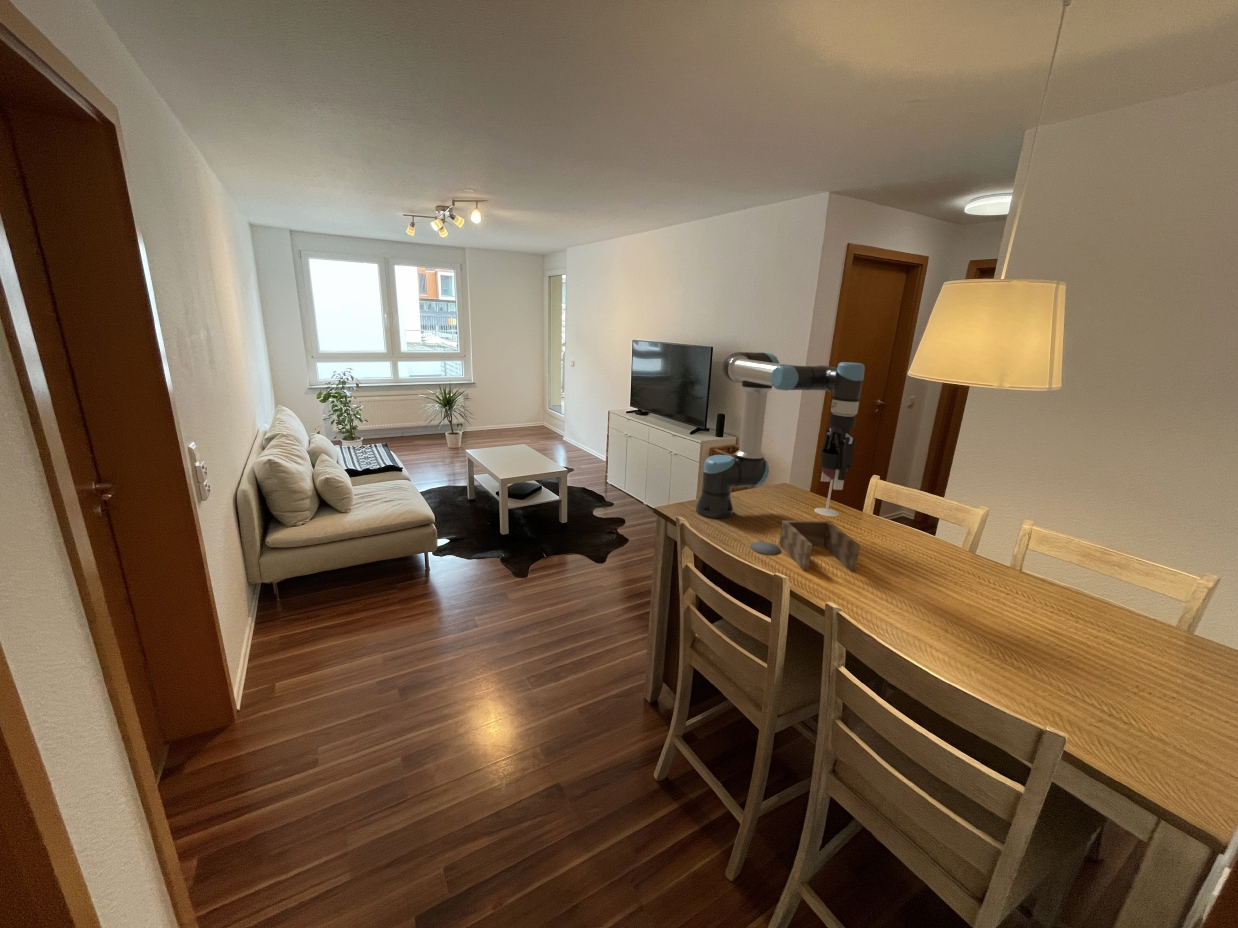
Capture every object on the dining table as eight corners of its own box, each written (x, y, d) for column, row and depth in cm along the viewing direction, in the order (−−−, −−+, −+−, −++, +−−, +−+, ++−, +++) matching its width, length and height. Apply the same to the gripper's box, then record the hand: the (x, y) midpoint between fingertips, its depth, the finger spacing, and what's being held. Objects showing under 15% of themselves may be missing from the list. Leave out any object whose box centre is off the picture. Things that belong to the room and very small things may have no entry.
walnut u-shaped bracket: (779, 544, 176) (782, 520, 173) (825, 544, 177) (829, 521, 175) (803, 570, 156) (807, 544, 154) (855, 571, 158) (860, 545, 155)
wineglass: (845, 517, 156) (856, 456, 150) (817, 515, 156) (827, 454, 150) (835, 508, 163) (845, 449, 158) (808, 506, 164) (818, 448, 158)
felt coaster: (746, 542, 176) (746, 541, 176) (774, 542, 177) (774, 541, 176) (756, 554, 166) (756, 553, 166) (785, 555, 167) (785, 554, 167)
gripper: (816, 408, 160) (805, 475, 167) (848, 419, 141) (835, 495, 147) (838, 409, 161) (827, 475, 167) (873, 420, 142) (859, 496, 148)
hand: (831, 485), depth 157 cm, fingers closed on wineglass, 7 cm apart
